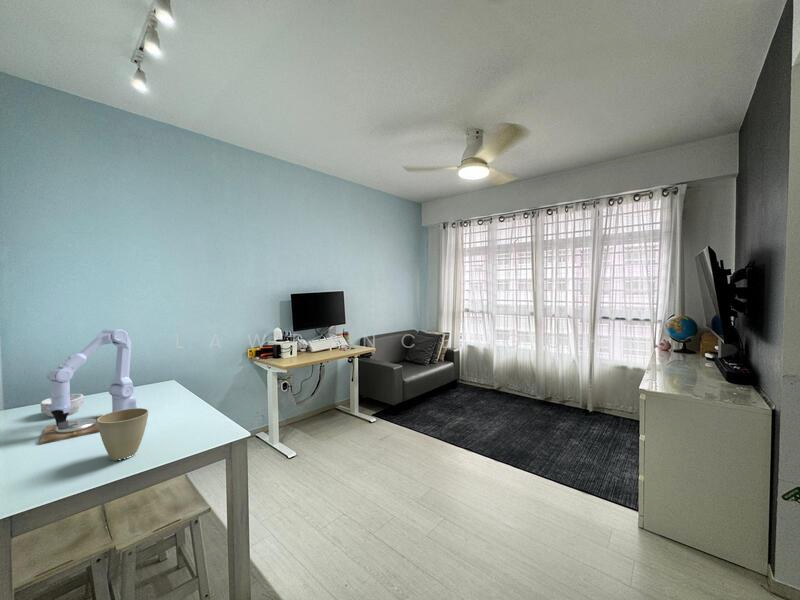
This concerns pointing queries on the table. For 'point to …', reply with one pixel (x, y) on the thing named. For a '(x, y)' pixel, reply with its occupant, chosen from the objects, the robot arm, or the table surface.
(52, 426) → the plate
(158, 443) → the table surface
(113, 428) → the plant pot
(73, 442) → the table surface
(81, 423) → the dial
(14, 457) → the table surface
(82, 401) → the paper bowls
